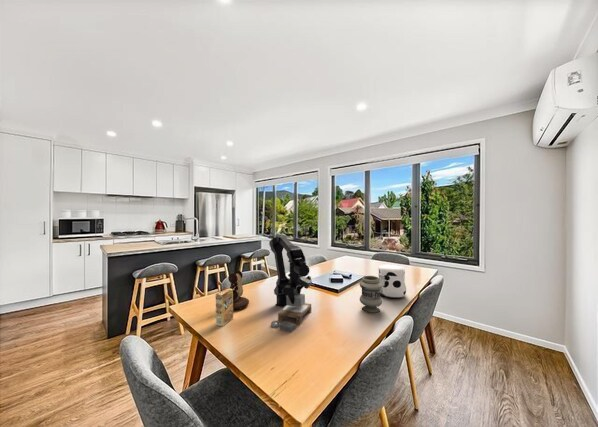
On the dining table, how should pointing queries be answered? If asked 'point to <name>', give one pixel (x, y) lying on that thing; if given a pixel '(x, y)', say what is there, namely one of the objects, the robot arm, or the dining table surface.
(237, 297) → the brown wooden figurine
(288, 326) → the rubber block
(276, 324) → the steel nut
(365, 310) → the apothecary jar
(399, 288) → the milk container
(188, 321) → the dining table surface
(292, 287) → the robot arm
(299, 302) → the housing
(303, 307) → the walnut stand
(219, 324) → the candy box
